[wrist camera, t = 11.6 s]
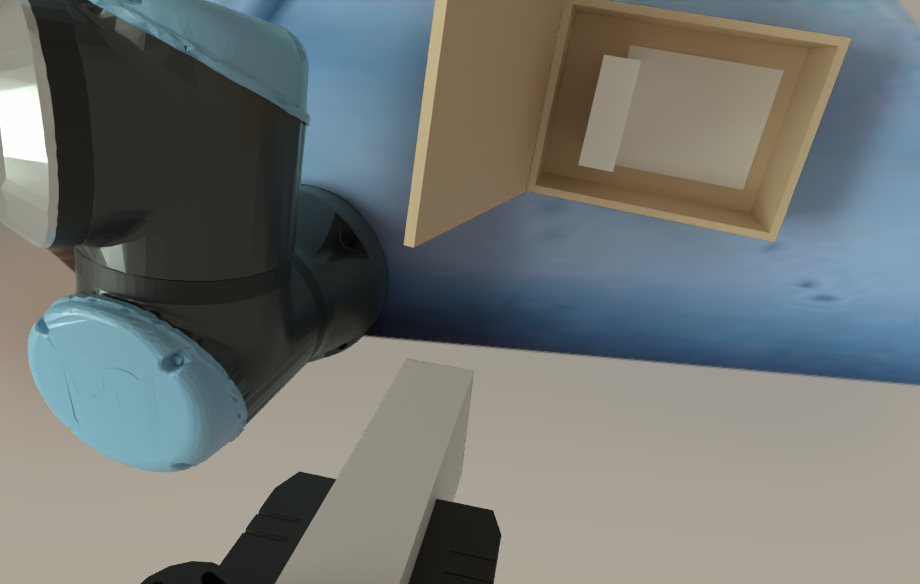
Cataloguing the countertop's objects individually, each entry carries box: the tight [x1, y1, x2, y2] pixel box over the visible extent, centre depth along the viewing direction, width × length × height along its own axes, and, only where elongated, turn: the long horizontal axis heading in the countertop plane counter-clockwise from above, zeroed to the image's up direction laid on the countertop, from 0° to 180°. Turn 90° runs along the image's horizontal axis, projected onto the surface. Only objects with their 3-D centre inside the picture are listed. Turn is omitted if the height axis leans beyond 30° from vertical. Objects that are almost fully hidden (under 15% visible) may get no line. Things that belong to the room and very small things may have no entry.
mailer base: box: [526, 0, 852, 242], centre depth 38 cm, size 16×12×10 cm
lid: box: [404, 0, 564, 248], centre depth 31 cm, size 16×12×1 cm
